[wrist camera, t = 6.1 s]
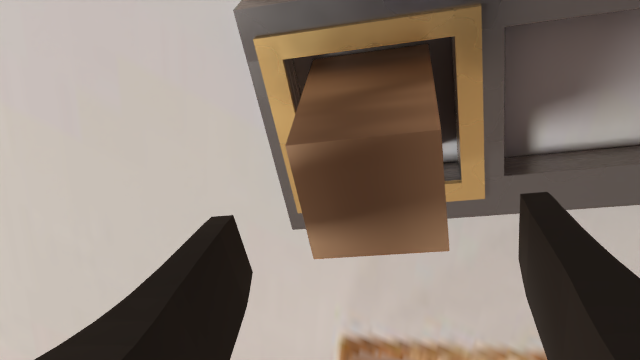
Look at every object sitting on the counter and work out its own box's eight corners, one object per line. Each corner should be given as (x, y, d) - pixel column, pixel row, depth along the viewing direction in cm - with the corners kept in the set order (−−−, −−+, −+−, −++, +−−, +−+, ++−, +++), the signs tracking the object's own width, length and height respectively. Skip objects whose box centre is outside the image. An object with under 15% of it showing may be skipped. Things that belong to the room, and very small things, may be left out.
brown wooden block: (428, 43, 18) (440, 129, 13) (436, 144, 20) (449, 250, 15) (313, 58, 19) (285, 146, 14) (332, 155, 21) (314, 259, 16)
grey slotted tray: (748, -82, 15) (778, -74, 14) (688, 181, 20) (705, 203, 19) (241, -1, 18) (232, 12, 17) (297, 211, 23) (291, 232, 22)
